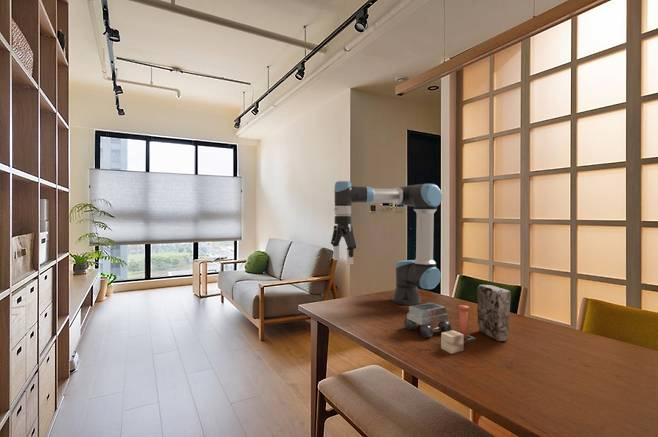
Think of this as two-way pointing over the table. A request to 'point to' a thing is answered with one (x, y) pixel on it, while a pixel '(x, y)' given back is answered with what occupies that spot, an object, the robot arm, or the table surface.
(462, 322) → the pin
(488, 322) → the stone block
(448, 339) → the block
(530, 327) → the table surface
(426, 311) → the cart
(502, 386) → the table surface
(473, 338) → the collar
